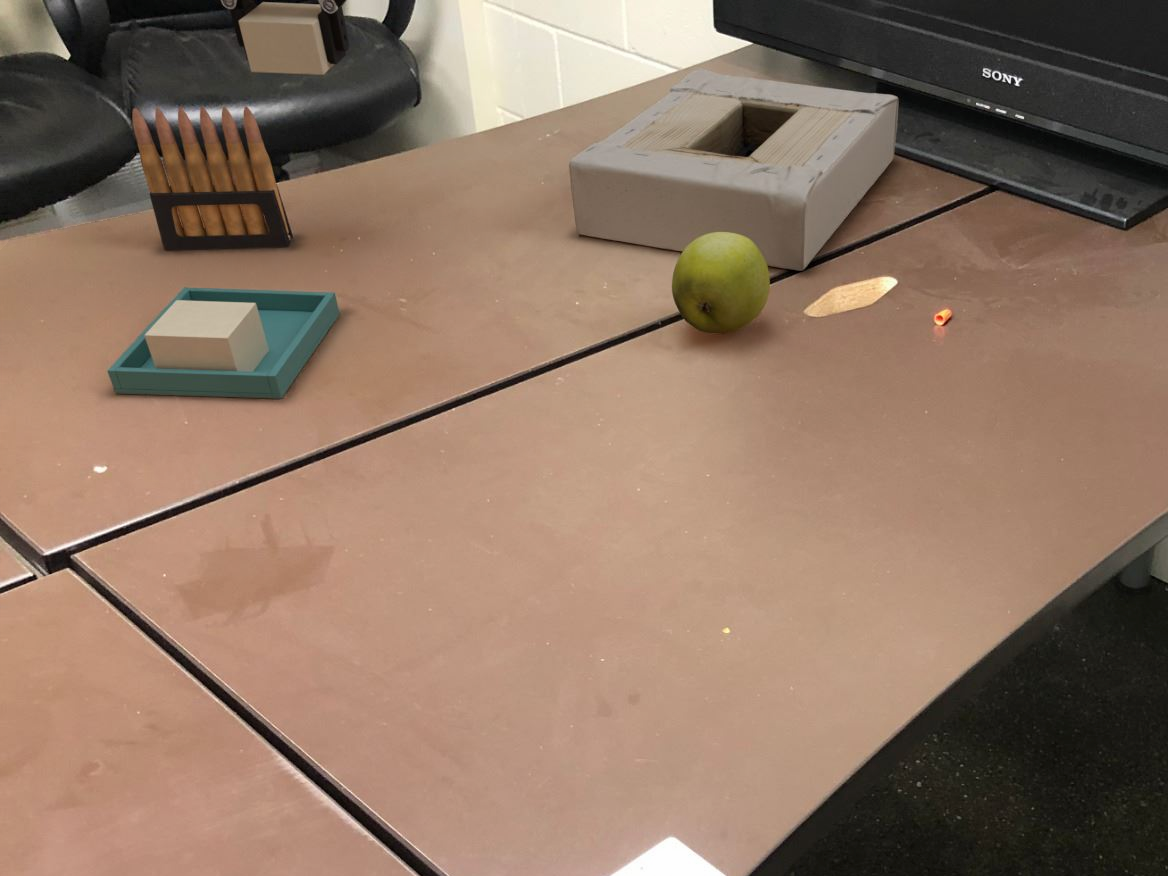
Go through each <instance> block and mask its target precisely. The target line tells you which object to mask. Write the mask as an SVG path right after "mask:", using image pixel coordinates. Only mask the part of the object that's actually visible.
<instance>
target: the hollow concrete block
mask: <svg viewBox="0 0 1168 876" xmlns="http://www.w3.org/2000/svg"><path fill="white" fill-rule="evenodd" d="M898 120H899V97H898V96H896V95H893V94H889V93H888V94H887V93H885V94H884V93H877V92H872V93H871V92H862V91H856V90H847V89H840V88H839V89H838V88H832V87H824V86H823V87H822V86H815V85H809V84H801V83H792V82H785V81H777V80H772V79H771V80H769V79H763V78H762V79H761V78H755V77H747V76H746V77H745V76H739V75H732V74H725V73H718V72H715V71H712V70H706V69H694V70H692V71H690V72H689V73H688V74H686V76H685V77H683V79H681V81H679V82H678V83H676V84H674V85H673V86H671V87H670V89H669V92H668V93H667V94H665V95H664V96H663V97H662V98H660V99H659V100H658V101H656V102H655V103H653V104H652V105H651V106H649V107H648V108H646V109H644V111H642V112H641V113H639V114H638V115H637V116H635V117H634V118H632V119H631V120H629V121H628V122H627V123H625V124H624V125H622V126H621V127H619V128H618V129H617V130H615V131H614V132H612V133H611V134H609V135H608V136H606V137H605V138H604V139H603V140H601V141H598V142H594V143H591V144H590V145H589V146H588V147H586V148H584V149H583V150H582V151H580V152H579V153H577V154H576V155H574V157H572V158H571V159H570V161H569V163H568V167H569V181H570V190H571V198H572V206H573V207H572V209H573V214H574V215H573V217H574V222H575V229H576V232H577V233H578V234H579V235H582V236H586V237H592V238H599V239H604V240H611V241H616V242H617V241H618V242H623V243H628V244H635V245H640V246H641V245H642V246H645V247H646V246H647V247H652V248H657V249H658V248H659V249H664V250H670V251H671V250H672V251H676V252H683V251H684V249H685V248H686V247H687V246H688V245H689V244H690V243H691V242H693V241H694V240H695V239H697V238H699V237H701V236H703V235H706V234H709V233H714V232H729V233H735V234H739V235H742V236H745V237H747V238H749V239H750V240H751V241H752V242H753V243H754V244H755V245H756V246H757V247H758V249H759V250H760V252H761V253H762V255H763V257H764V259H765V261H766V263H767V267H774V268H781V269H785V270H792V271H793V270H794V271H799V272H800V271H804V270H805V269H806V268H807V267H808V265H809V264H810V263H811V262H812V260H813V259H814V258H815V256H817V254H818V252H820V250H822V248H823V246H824V245H825V244H826V243H827V241H828V240H830V238H831V237H832V236H833V234H834V233H835V232H836V230H837V229H838V228H839V227H840V226H841V225H842V223H843V222H844V221H845V219H847V217H848V216H849V215H850V213H851V212H852V211H853V210H854V209H855V208H856V207H857V205H858V203H859V202H860V201H861V200H862V199H863V197H864V196H865V195H866V193H867V192H868V191H869V190H870V189H871V188H872V186H873V185H874V184H875V183H876V182H877V181H878V179H879V178H880V176H882V174H883V173H884V172H885V170H886V169H887V168H888V167H889V165H890V164H891V163H892V162H893V160H894V157H895V150H896V142H897V141H896V140H897V131H898Z"/></svg>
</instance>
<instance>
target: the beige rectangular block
mask: <svg viewBox="0 0 1168 876" xmlns="http://www.w3.org/2000/svg"><path fill="white" fill-rule="evenodd" d="M320 12H321V6H320V4H315V3H314V4H313V3H293V2H269V1H262V2H261V3H260V4H259V5H257V7H256V8H255V9H253V10H252V11H251V12H249V13H248V14H247V15H246V16H244V17H243V18H242V19H240V20H239V25H240V29H241V33H242V37H243V41H244V45H245V49H246V53H247V57H248V60H247V61H248V65H249V69H250V72H251V73H266V74H267V73H268V74H293V75H294V74H295V75H316V76H317V75H319V76H320V75H321V76H323V75H325V74H326V73H327V72H329V70H330V69H331V68H333V66H335V64H330V63H329V62H328V61H327V56H326V52H325V47H324V42H323V38H322V33H321V29H320V24H319V20H318V14H319V13H320Z"/></svg>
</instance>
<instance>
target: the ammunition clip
mask: <svg viewBox="0 0 1168 876" xmlns="http://www.w3.org/2000/svg"><path fill="white" fill-rule="evenodd" d="M131 115H132V127H133V132H134V136H135V140H136V142H137V147H138V152H139V158H140V164H141V167H142V171H143V174H144V176H145V181H146V183H147V187H148V190H149V198H150V202H151V205H152V209H153V213H154V216H155V220H156V225H157V229H158V232H159V236H160V239H161V240H160V241H161V243H162V246H163V251H166V252H167V251H170V252H171V251H199V250H201V251H202V250H233V249H235V250H236V249H267V248H268V249H269V248H289V247H290V246H291V245H292V243H293V241H294V234H293V232H292V231H293V230H292V229H291V225H290V222H289V218H288V215H287V213H286V209H285V207H284V202H283V199H282V196H281V193H280V190H279V186H278V183H277V182H276V178H275V174H274V169H273V166H272V163H271V159H270V156H269V154H268V152H267V150H266V147H265V144H264V140H263V139H262V134H261V131H260V127H259V125H258V123H257V120H256V118H255V116H254V114H253V112H252V111H251V110H250V108H249V107H248V106H244V108H243V127H244V133H245V137H246V142H247V143H246V144H247V148H248V155H247V153H246V150H245V148H244V145H243V142H242V139H241V137H240V132H239V130H238V127H237V125H236V122H235V120H234V118H233V116H232V114H231V112H230V111H229V110H228V108H227V107H226V106H223V107H222V109H221V125H222V131H223V137H224V141H225V145H226V151H227V156H226V154H225V152H224V150H223V146H222V143H221V141H220V139H219V135H218V132H217V129H216V126H215V124H214V121H213V119H212V118H211V116H210V114H209V112H208V111H207V110H206V109H205V108H204V107H203V106H201V107H200V111H199V123H200V130H201V136H202V139H203V144H204V145H203V146H204V149H205V154H206V155H204V153H203V151H202V149H201V146H200V143H199V140H198V137H197V134H196V131H195V129H194V126H193V124H192V122H191V120H190V118H189V116H188V114H187V113H186V111H185V110H184V109H183V107H178V110H177V125H178V130H179V136H180V138H181V143H182V147H183V152H184V157H183V156H182V153H181V151H180V149H179V147H178V144H177V141H176V138H175V135H174V133H173V129H172V128H171V125H170V122H169V121H168V119H167V117H166V115H165V114H164V112H163V111H162V110H161V109H160V108H159V107H156V108H155V112H154V118H155V120H154V121H155V128H156V133H157V137H158V140H159V145H160V149H161V154H162V158H161V157H160V154H159V152H158V151H157V147H156V145H155V143H154V140H153V137H152V134H151V130H150V129H149V127H148V124H147V122H146V121H145V119H144V117H143V115H142V114H141V112H140V111H139V110H138V109H137V108H136V107H133V109H132V114H131Z"/></svg>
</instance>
